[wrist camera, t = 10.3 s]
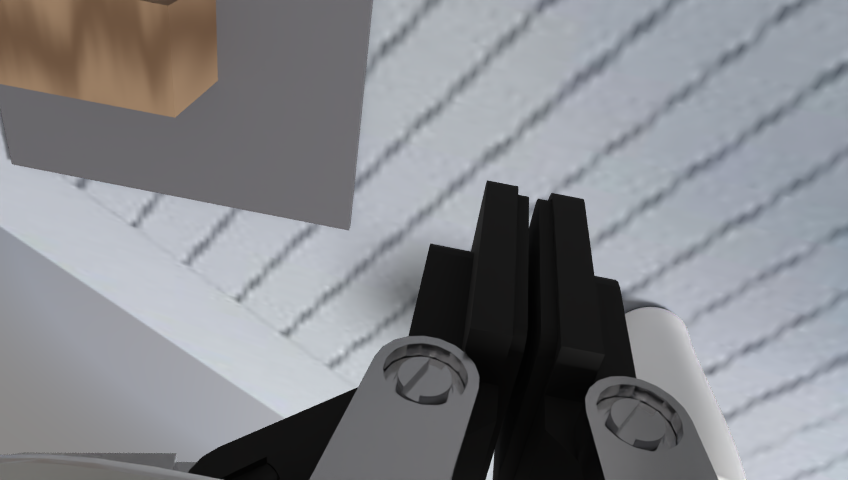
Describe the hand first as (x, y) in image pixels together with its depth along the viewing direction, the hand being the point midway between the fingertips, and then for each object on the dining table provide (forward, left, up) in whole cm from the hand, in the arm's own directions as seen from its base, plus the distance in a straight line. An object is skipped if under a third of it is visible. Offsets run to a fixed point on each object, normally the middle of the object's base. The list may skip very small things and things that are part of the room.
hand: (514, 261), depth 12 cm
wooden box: (+7, -17, -26) cm, 32 cm away
